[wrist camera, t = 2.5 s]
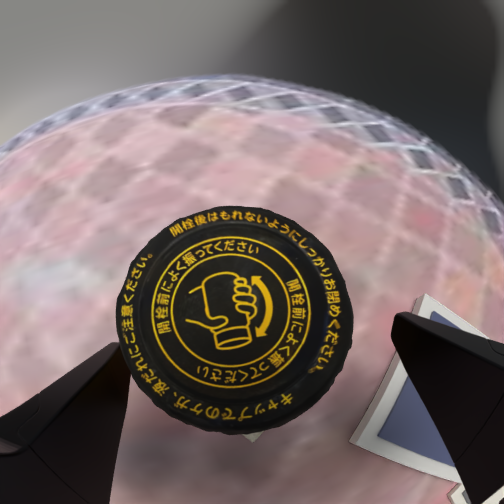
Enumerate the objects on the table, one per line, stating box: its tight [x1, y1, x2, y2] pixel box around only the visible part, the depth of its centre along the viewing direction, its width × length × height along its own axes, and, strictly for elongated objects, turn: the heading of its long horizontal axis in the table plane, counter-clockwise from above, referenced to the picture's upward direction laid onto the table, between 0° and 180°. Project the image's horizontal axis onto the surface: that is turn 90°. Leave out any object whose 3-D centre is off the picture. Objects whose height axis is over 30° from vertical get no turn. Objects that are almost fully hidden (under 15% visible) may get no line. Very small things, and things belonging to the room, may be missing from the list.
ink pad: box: [348, 293, 491, 484], centre depth 14 cm, size 11×11×2 cm
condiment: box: [116, 206, 354, 443], centre depth 11 cm, size 7×8×12 cm
